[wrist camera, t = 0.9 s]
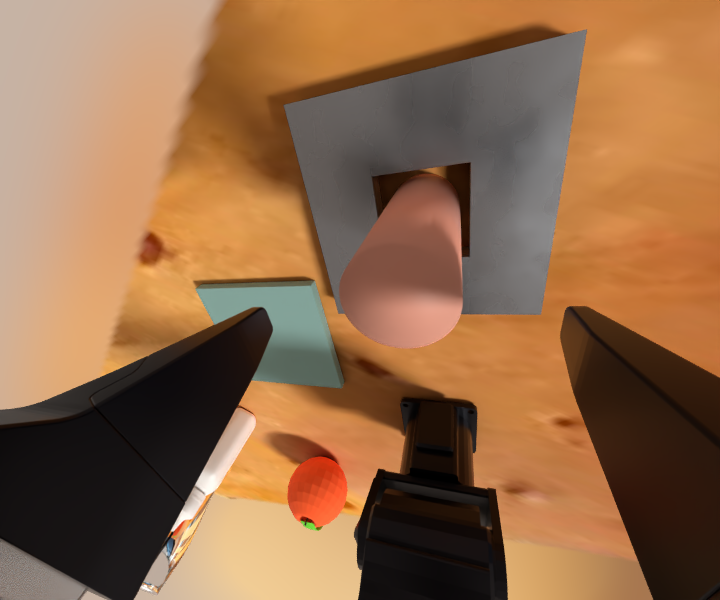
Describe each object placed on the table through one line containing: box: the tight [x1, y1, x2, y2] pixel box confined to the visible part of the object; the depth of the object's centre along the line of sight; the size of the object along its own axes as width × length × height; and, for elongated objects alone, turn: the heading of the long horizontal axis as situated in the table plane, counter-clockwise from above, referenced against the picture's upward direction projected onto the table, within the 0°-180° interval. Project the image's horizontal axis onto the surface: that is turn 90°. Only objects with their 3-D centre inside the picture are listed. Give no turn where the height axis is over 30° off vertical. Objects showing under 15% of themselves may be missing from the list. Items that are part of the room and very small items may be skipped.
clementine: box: [288, 457, 347, 531], centre depth 35 cm, size 8×7×7 cm
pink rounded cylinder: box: [339, 174, 463, 348], centre depth 14 cm, size 4×4×10 cm
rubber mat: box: [196, 281, 344, 388], centre depth 27 cm, size 11×11×1 cm
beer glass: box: [140, 466, 232, 595], centre depth 41 cm, size 7×7×15 cm
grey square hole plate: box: [284, 29, 587, 315], centre depth 17 cm, size 13×13×2 cm
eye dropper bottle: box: [171, 408, 256, 532], centre depth 33 cm, size 4×6×12 cm
